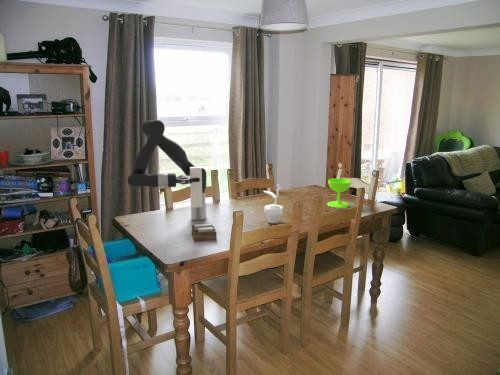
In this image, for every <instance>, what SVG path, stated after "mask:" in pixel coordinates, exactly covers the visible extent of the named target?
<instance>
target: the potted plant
mask: <svg viewBox="0 0 500 375" xmlns="http://www.w3.org/2000/svg"><path fill="white" fill-rule="evenodd" d="M276 186H277V189H276V190H275V191H276V194H275V193H274V192H272V191H268V190H263V193H264V194H267V195H268V196H270V197H271V198H272V199H274V203H272V204H267V205H264V215H265V216H266V218H267V219H266V220H267V222H268V223H270V224H273V223H275V224H278V223H280V221H281V220H280V219H281V217H282V215H283V214H284V206H283V205H279V204H277V200H278V197H279V196H280V191H279V190H281V189H282V187H281V184H279V182H278V183H277V184H276Z"/></svg>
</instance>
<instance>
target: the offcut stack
mask: <svg viewBox="0 0 500 375" xmlns="http://www.w3.org/2000/svg"><path fill="white" fill-rule="evenodd" d="M193 225H194V230H198V232H210V231H213V226H214V224H213V223H200V224H193Z"/></svg>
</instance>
